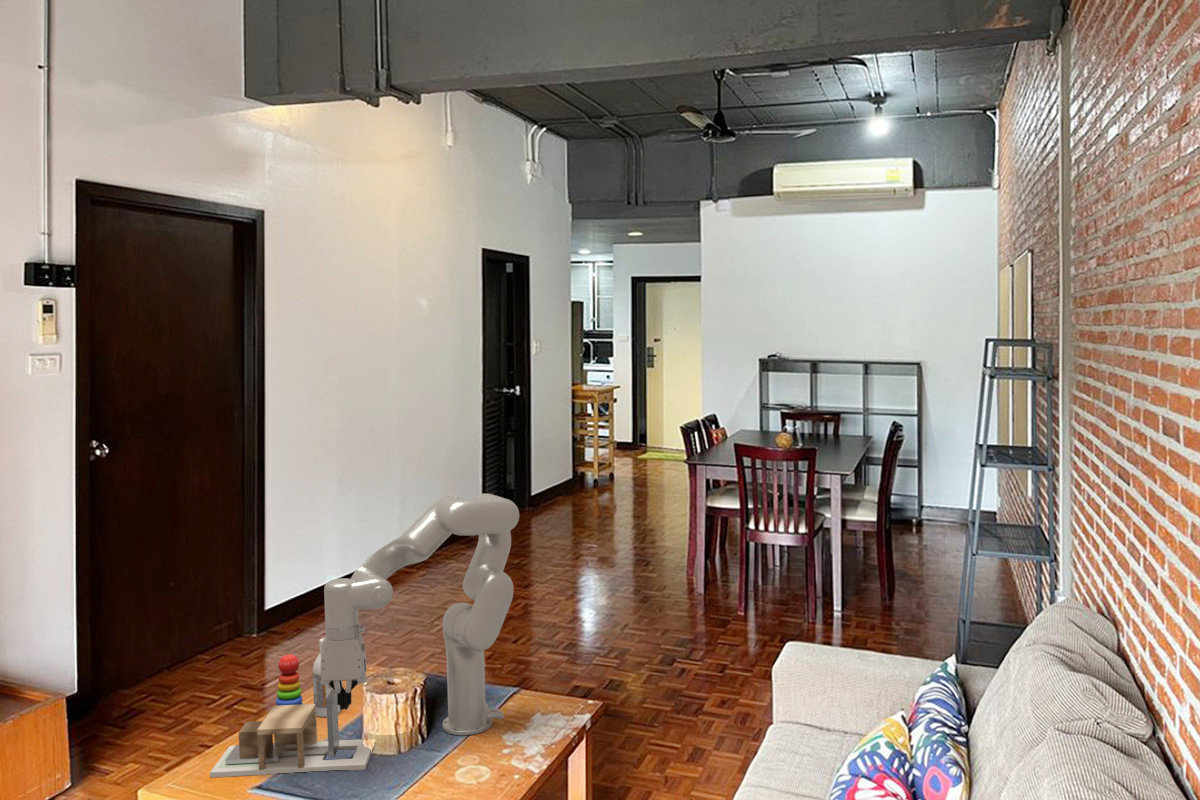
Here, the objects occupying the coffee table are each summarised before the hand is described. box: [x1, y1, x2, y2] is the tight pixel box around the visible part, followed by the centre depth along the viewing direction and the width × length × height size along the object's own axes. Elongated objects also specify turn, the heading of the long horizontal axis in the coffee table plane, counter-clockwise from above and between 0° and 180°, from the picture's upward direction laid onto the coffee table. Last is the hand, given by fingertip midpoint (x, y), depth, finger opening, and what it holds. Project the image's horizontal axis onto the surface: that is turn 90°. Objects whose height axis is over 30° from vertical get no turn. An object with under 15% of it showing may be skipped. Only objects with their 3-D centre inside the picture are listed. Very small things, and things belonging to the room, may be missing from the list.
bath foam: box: [312, 637, 342, 718], centre depth 250 cm, size 7×7×20 cm
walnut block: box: [238, 720, 274, 757], centre depth 222 cm, size 6×6×6 cm
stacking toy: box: [275, 654, 304, 706], centre depth 242 cm, size 8×8×19 cm
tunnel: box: [257, 703, 318, 770], centre depth 223 cm, size 10×14×10 cm
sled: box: [225, 689, 340, 764], centre depth 222 cm, size 25×8×14 cm, turn 94°
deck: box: [209, 738, 372, 778], centre depth 223 cm, size 35×14×1 cm, turn 94°
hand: (344, 707), depth 223 cm, fingers closed
